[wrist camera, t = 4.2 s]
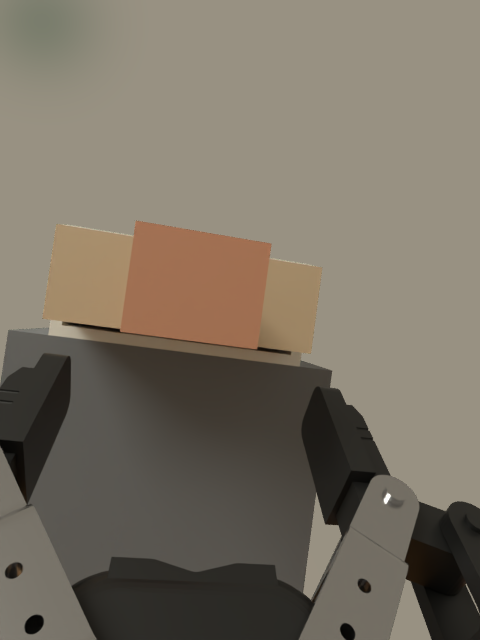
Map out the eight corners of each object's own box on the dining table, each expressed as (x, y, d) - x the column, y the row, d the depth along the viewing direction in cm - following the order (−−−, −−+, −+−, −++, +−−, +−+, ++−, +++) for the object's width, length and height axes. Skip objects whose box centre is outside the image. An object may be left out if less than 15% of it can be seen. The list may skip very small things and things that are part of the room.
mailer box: (48, 335, 22) (64, 224, 22) (98, 329, 36) (108, 261, 36) (299, 366, 24) (313, 265, 24) (255, 349, 38) (263, 285, 38)
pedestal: (-79, 912, 21) (8, 330, 22) (23, 676, 35) (74, 326, 35) (264, 888, 24) (331, 370, 24) (232, 678, 37) (276, 352, 38)
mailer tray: (-117, 316, 8) (-85, 112, 8) (100, 319, 30) (107, 264, 30) (438, 385, 10) (459, 217, 10) (257, 340, 32) (264, 288, 32)
